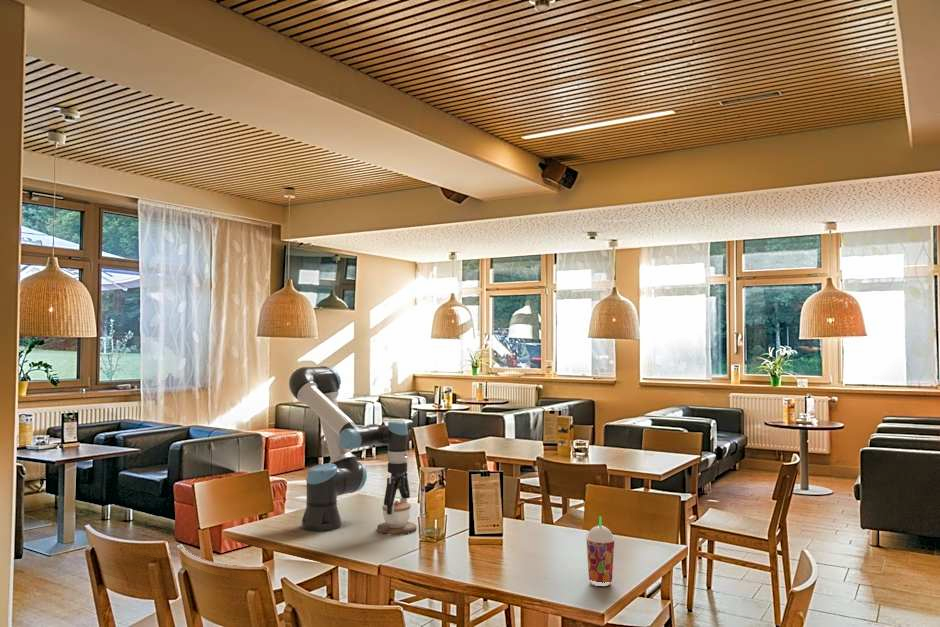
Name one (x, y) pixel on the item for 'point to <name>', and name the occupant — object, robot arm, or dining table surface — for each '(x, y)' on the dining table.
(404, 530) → the stand
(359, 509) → the dining table surface
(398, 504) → the lidded jar
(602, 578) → the smoothie
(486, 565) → the dining table surface
